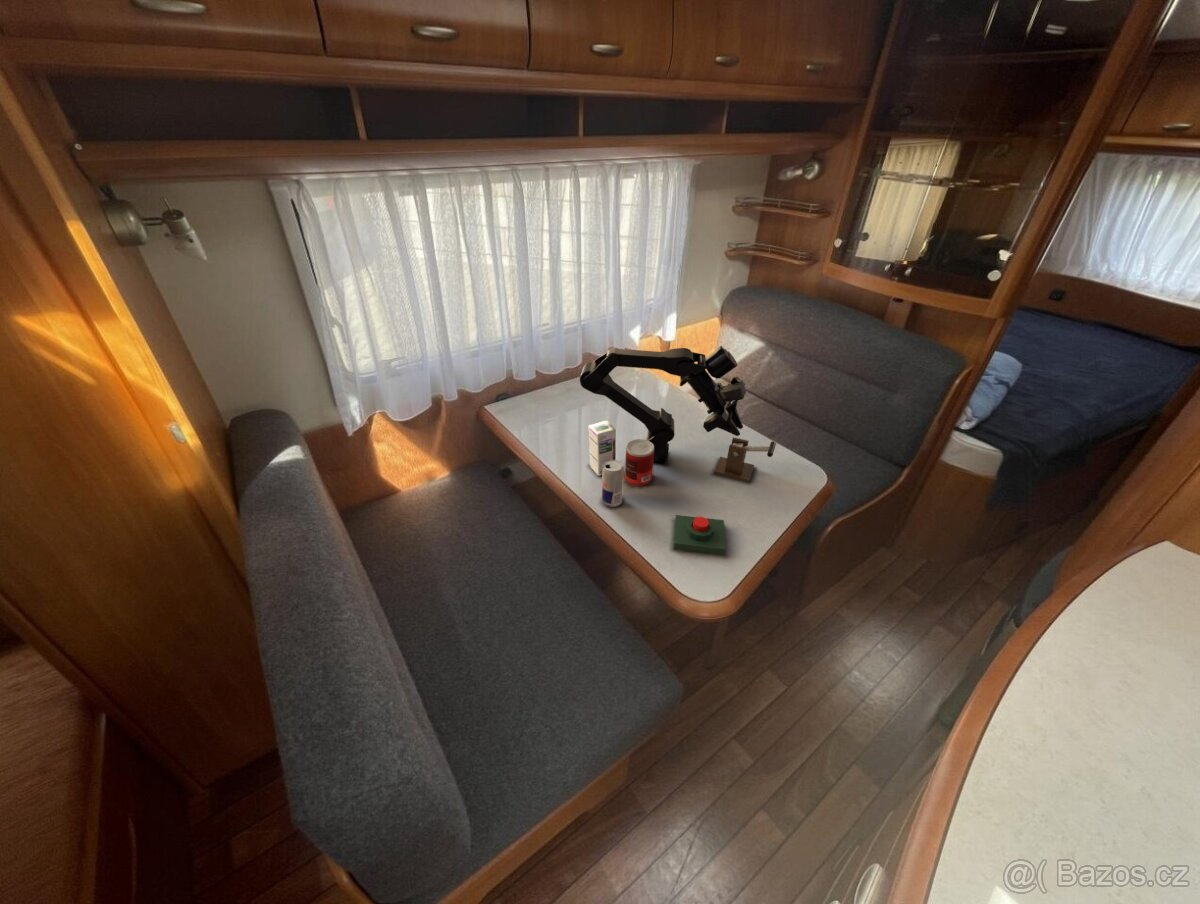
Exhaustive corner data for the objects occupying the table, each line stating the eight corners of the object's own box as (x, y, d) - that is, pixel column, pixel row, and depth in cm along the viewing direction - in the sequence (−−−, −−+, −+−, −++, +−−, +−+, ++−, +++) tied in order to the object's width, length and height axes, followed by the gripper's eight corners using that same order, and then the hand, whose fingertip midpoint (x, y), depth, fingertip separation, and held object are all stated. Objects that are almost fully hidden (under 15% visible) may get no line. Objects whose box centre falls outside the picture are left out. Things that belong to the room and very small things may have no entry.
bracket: (753, 468, 141) (759, 440, 135) (748, 483, 135) (754, 455, 129) (719, 459, 144) (724, 432, 139) (713, 474, 138) (718, 446, 133)
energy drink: (601, 495, 131) (601, 459, 124) (620, 494, 131) (621, 458, 124) (603, 508, 126) (603, 472, 119) (623, 507, 127) (624, 471, 120)
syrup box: (598, 476, 137) (598, 434, 129) (589, 465, 142) (588, 424, 133) (615, 471, 140) (616, 429, 131) (606, 460, 144) (606, 419, 136)
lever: (776, 447, 133) (775, 439, 132) (772, 458, 128) (772, 451, 127) (735, 446, 138) (734, 439, 137) (731, 457, 134) (730, 450, 133)
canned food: (654, 473, 139) (657, 441, 133) (648, 489, 133) (650, 457, 126) (629, 467, 141) (630, 436, 135) (621, 484, 135) (622, 452, 128)
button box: (673, 549, 114) (674, 537, 112) (674, 521, 122) (676, 509, 120) (724, 555, 113) (726, 543, 110) (722, 526, 121) (725, 514, 118)
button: (692, 531, 114) (693, 525, 113) (692, 521, 117) (693, 515, 116) (708, 533, 114) (709, 527, 113) (707, 522, 117) (708, 517, 116)
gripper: (721, 387, 117) (759, 435, 120) (737, 359, 131) (770, 402, 133) (687, 409, 124) (723, 454, 127) (705, 379, 138) (737, 420, 141)
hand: (740, 431), depth 132 cm, fingers open, 4 cm apart
